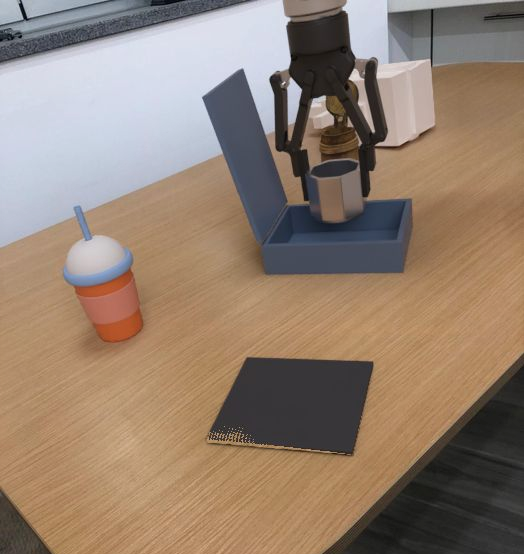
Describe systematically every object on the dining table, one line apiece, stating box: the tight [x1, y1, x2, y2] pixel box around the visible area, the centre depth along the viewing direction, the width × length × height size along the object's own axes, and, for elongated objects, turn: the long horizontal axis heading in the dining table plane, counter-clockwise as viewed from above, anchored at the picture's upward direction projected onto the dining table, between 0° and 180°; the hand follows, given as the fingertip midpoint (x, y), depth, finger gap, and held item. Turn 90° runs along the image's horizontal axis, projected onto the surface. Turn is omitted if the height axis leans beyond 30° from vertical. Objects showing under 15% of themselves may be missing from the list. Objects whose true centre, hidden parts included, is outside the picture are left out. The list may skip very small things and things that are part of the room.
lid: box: [201, 67, 289, 244], centre depth 85 cm, size 20×15×1 cm
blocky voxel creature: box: [308, 58, 436, 147], centre depth 132 cm, size 15×25×28 cm
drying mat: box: [205, 356, 375, 455], centre depth 64 cm, size 15×14×1 cm
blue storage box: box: [260, 197, 414, 276], centre depth 89 cm, size 20×15×5 cm
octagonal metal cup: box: [305, 158, 368, 223], centre depth 84 cm, size 8×8×6 cm
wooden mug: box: [318, 79, 360, 163], centre depth 107 cm, size 9×14×18 cm, turn 164°
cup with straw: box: [62, 205, 144, 343], centre depth 78 cm, size 9×9×18 cm
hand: (337, 195), depth 85 cm, fingers closed on octagonal metal cup, 8 cm apart
